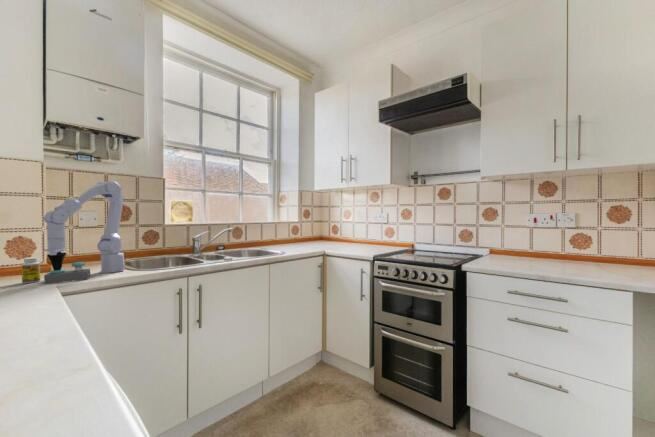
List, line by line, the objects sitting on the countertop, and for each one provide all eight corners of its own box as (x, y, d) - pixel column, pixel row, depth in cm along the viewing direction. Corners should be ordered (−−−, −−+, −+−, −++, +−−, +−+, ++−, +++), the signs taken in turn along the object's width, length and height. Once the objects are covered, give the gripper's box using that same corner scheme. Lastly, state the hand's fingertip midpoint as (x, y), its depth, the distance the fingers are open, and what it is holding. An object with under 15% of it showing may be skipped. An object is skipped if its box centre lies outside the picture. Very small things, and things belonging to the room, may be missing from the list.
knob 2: (86, 271, 136) (85, 261, 136) (84, 273, 132) (84, 263, 132) (73, 272, 134) (72, 262, 134) (70, 274, 130) (70, 264, 130)
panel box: (90, 276, 138) (90, 268, 138) (87, 279, 132) (87, 271, 132) (49, 280, 131) (49, 272, 131) (44, 283, 124) (44, 275, 124)
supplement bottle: (20, 284, 124) (19, 259, 123) (24, 281, 128) (23, 257, 128) (38, 282, 127) (38, 258, 126) (42, 280, 131) (41, 256, 131)
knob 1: (66, 278, 133) (65, 268, 133) (63, 280, 129) (63, 270, 129) (52, 279, 130) (51, 269, 130) (49, 282, 126) (49, 271, 126)
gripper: (48, 237, 133) (49, 268, 133) (39, 240, 121) (40, 274, 121) (69, 236, 137) (70, 266, 137) (62, 239, 125) (63, 272, 125)
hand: (57, 270), depth 129 cm, fingers closed, pressing on knob 1
